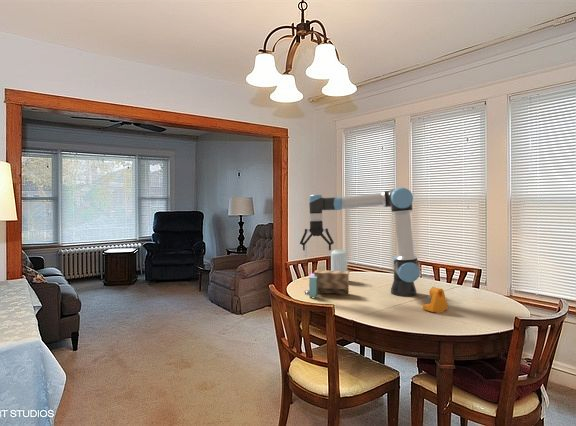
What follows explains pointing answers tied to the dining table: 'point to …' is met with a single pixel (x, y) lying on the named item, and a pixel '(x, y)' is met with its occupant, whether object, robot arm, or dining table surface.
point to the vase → (339, 260)
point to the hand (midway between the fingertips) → (317, 256)
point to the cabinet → (332, 281)
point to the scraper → (312, 286)
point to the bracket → (436, 301)
